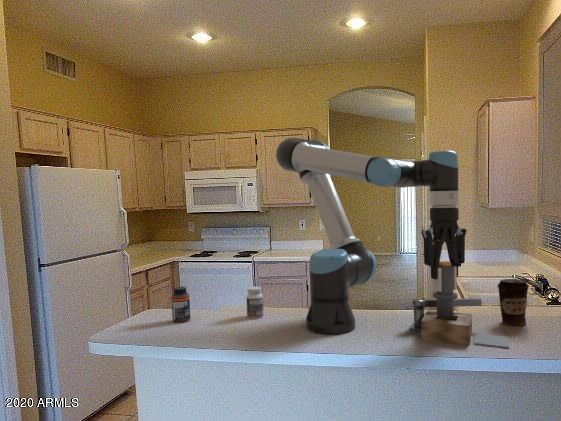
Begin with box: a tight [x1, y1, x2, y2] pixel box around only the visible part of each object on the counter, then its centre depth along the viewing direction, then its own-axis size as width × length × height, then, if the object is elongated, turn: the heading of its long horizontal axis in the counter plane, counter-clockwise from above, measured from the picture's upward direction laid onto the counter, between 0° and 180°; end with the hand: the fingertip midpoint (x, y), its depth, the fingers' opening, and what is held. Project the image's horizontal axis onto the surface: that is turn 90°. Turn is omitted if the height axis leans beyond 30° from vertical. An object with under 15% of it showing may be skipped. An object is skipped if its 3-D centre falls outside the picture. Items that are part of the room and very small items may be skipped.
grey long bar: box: [411, 297, 483, 309], centre depth 119 cm, size 20×4×2 cm, turn 87°
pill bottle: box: [246, 286, 265, 320], centre depth 138 cm, size 6×6×10 cm
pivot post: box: [408, 307, 425, 332], centre depth 119 cm, size 5×5×6 cm
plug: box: [432, 260, 458, 317], centre depth 113 cm, size 6×6×15 cm
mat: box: [473, 333, 510, 349], centre depth 107 cm, size 8×8×1 cm
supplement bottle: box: [171, 286, 191, 323], centre depth 135 cm, size 6×6×11 cm
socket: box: [420, 309, 473, 346], centre depth 113 cm, size 12×12×5 cm
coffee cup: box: [497, 278, 530, 326], centre depth 122 cm, size 9×8×13 cm
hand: (444, 289), depth 113 cm, fingers closed on plug, 4 cm apart
